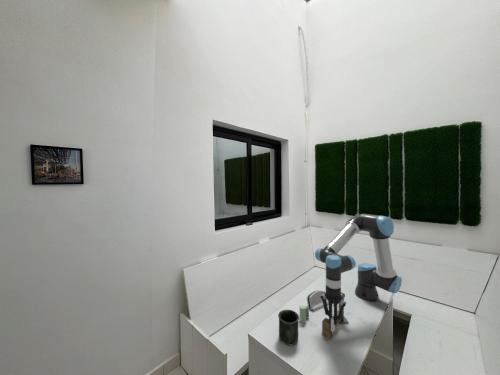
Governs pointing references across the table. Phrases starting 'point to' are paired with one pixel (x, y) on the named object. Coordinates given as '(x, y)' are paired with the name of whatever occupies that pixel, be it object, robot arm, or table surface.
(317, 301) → the grey arched slab
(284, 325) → the dark green cylindrical container
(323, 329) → the wooden mallet
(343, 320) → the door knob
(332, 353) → the table surface
